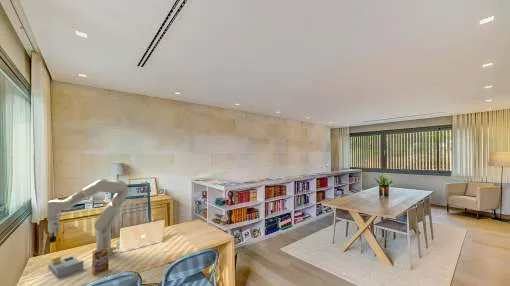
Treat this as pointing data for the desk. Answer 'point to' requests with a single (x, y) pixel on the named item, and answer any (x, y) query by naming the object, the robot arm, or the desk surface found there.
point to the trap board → (66, 266)
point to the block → (55, 259)
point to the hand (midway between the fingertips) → (52, 242)
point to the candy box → (100, 260)
